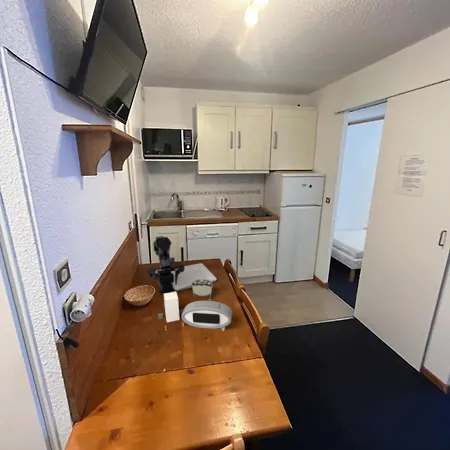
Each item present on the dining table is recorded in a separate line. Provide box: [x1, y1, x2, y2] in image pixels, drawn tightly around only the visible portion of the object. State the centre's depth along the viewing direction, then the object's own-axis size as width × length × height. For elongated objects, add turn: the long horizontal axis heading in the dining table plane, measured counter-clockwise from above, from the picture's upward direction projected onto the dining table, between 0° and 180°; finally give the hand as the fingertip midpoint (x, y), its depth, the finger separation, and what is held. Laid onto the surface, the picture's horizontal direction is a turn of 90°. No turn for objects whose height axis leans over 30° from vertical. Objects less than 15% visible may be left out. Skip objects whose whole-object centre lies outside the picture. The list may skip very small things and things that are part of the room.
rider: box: [163, 291, 180, 323], centre depth 122 cm, size 6×6×13 cm
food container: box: [191, 279, 214, 301], centre depth 143 cm, size 12×6×10 cm, turn 84°
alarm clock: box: [181, 300, 233, 332], centre depth 118 cm, size 23×6×13 cm, turn 83°
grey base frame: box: [157, 301, 185, 331], centre depth 125 cm, size 26×13×3 cm, turn 19°
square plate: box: [171, 262, 218, 292], centre depth 164 cm, size 27×27×4 cm
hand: (168, 286), depth 130 cm, fingers open, 7 cm apart
